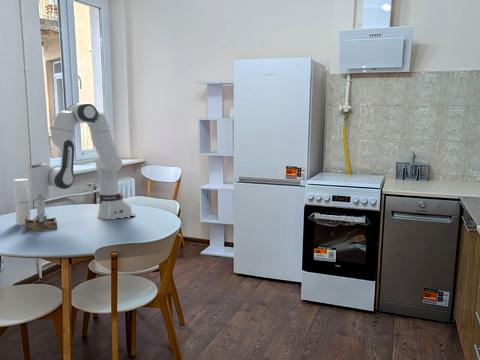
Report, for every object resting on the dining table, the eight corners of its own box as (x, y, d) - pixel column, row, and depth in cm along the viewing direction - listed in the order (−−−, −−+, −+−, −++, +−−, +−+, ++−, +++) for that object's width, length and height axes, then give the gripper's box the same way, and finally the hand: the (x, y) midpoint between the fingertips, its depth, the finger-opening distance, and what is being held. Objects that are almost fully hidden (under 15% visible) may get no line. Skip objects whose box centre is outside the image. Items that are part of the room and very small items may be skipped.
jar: (47, 225, 224) (46, 214, 223) (47, 227, 219) (46, 216, 218) (36, 226, 221) (36, 214, 220) (36, 228, 217) (36, 217, 216)
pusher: (36, 225, 222) (35, 217, 221) (36, 229, 216) (35, 220, 215) (33, 226, 222) (33, 217, 221) (33, 229, 215) (33, 220, 214)
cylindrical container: (24, 225, 225) (22, 180, 222) (13, 224, 227) (10, 180, 223) (33, 222, 232) (31, 179, 229) (22, 221, 233) (20, 178, 230)
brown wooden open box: (56, 224, 228) (55, 213, 227) (57, 229, 219) (56, 217, 218) (26, 227, 221) (25, 215, 220) (25, 232, 212) (25, 219, 211)
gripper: (47, 196, 210) (48, 223, 212) (45, 190, 228) (46, 214, 230) (33, 197, 207) (34, 224, 209) (33, 191, 225) (34, 215, 227)
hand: (41, 219), depth 219 cm, fingers open, 8 cm apart
